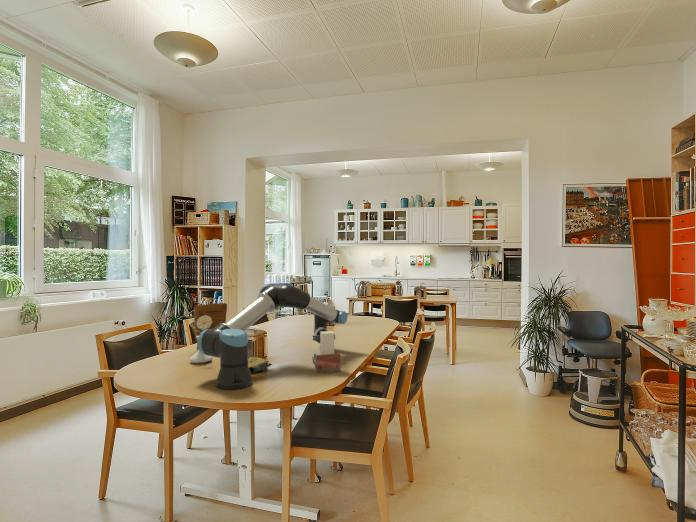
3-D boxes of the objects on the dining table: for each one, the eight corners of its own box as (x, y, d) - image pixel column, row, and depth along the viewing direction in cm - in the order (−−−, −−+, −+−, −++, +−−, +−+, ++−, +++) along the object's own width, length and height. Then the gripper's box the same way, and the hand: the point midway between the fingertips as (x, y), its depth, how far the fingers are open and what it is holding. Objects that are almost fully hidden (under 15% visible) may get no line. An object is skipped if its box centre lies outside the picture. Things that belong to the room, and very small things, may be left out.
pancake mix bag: (228, 349, 245) (227, 303, 245) (194, 352, 239) (193, 304, 238) (227, 347, 252) (226, 302, 251) (194, 350, 245) (193, 303, 245)
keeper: (320, 363, 203) (320, 331, 202) (332, 362, 204) (332, 331, 204) (322, 366, 197) (321, 333, 196) (334, 366, 198) (334, 333, 198)
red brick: (312, 360, 218) (312, 345, 218) (332, 359, 220) (332, 344, 220) (317, 372, 194) (317, 356, 194) (340, 371, 196) (340, 354, 196)
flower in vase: (184, 363, 213) (184, 316, 213) (199, 358, 224) (198, 313, 224) (205, 365, 209) (205, 317, 209) (219, 360, 220) (218, 314, 220)
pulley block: (243, 348, 220) (273, 358, 198) (245, 358, 221) (275, 369, 199) (219, 356, 211) (247, 368, 189) (220, 367, 212) (249, 380, 190)
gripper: (333, 340, 237) (340, 349, 214) (311, 341, 235) (315, 351, 212) (333, 327, 237) (339, 335, 214) (311, 328, 235) (315, 336, 212)
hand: (327, 343), depth 213 cm, fingers closed
